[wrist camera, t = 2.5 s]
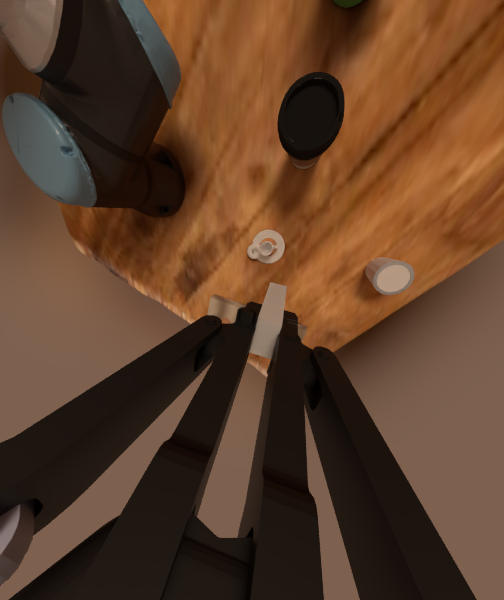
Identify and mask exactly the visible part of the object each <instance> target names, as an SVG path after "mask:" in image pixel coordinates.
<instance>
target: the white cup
mask: <svg viewBox="0 0 504 600" xmlns="http://www.w3.org/2000/svg"><path fill="white" fill-rule="evenodd" d="M365 275H366V276H367V278H368V279H369V281H370V282H371V283H372V285H373V286H374V287H375V289H376V290H377V291H378V292H380V293H382V294H386V295H393V294H398V293H400V292H402V291H404V290H406V289H407V288H408V287H409V286H410V285H411V283H412V281H413V279H414V270H413V268H412V267H411V265H409V264H407V263H406V262H403V261H398V260H394V259H390V258H385V257H379V258H375V259H373V260H372V261H370V262H369V263H368V265H367V266H366V269H365Z"/></svg>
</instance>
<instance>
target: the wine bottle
mask: <svg viewBox="0 0 504 600" xmlns="http://www.w3.org/2000/svg"><path fill="white" fill-rule="evenodd" d="M333 1H334V2H335V3H336V4H337V5H339V6H340V7H345V8H348V7H353V6H355V5H357V4H358V3H360V2H361V1H362V0H333Z"/></svg>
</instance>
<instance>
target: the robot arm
mask: <svg viewBox="0 0 504 600" xmlns="http://www.w3.org/2000/svg"><path fill="white" fill-rule="evenodd" d="M0 32H1V34H2V35H3V36H4V37H5V39H6V40H7V42H8V43H9V45H10V46H11V48H12V49H13V51H14V52H15V53H16V55H17V57H18V58H19V60H20V61H21V63H22V64H23V65H24V66H25V67H26V68H27V69H29V70H30V71H31V72H33V73H34V74H36V75H37V76H39V77H40V78H42V85H41V90H40V94H39V98H37V97H35V96H33V95H30V94H26V93H24V94H22V93H14V94H13V95H9V96H8V97H7V98H6V99H5V101H4V104H3V110H2V117H3V124H4V129H5V133H6V136H7V139H8V142H9V144H10V146H11V148H12V151H13V153H14V154H15V156H16V158H17V160H18V162H19V164H20V165H21V167H22V168H23V170H24V171H25V173H26V174H27V175H28V176H29V178H30V179H31V180H32V181H33V182H34V183H35V185H36V186H37V187H39V188H40V189H41V190H42V191H43V192H44V193H45V194H47V195H48V196H50V197H51V198H53V199H55V200H57V201H59V202H62V203H65V204H71V205H80V206H83V207H106V208H133V209H135V210H137V211H139V212H142V213H144V214H146V215H148V216H151V217H168V216H171V215H172V214H174V213H175V212H176V211H177V210H178V209H179V207H180V206H181V204H182V201H183V198H184V191H185V185H184V178H183V174H182V171H181V168H180V166H179V164H178V162H177V160H176V159H175V157H174V156H173V155H172V154H171V153H170V152H169V151H168V150H167V149H166V148H164V147H163V146H161V145H159V144H157V143H155V142H153V140H154V138H155V135H156V133H157V131H158V129H159V127H160V125H161V123H162V121H163V119H164V117H165V115H166V113H167V111H168V109H171V107H172V101H173V98H174V96H175V94H176V91H177V89H178V87H179V84H180V81H181V72H180V66H179V63H178V61H177V58H176V56H175V54H174V52H173V50H172V48H171V46H170V45H169V43H168V41H167V39H166V38H165V36H164V34H163V33H162V31H161V29H160V28H159V26H158V24H157V23H156V21H155V19H154V18H153V16H152V15H151V13H150V11H149V10H148V8H147V7H146V5H145V4H144V2H143V0H0ZM286 287H287V286H283V285H279V284H275V283H272V282H271V283H270V285H269V288H268V291H267V294H266V297H265V299H264V302H263V305H262V304H258V303H255V302H249V303H247V305H246V307H242V308H239V309H238V310H237V315H236V320H235V323H231V324H226V323H222V320H221V319H220V318H219V317H217V316H214V315H206V316H203V317H201V318H200V319H198V320H197V321H195V322H194V323H192V324H190V325H189V326H187V327H186V328H184V329H183V330H181V331H179V332H178V333H176V334H175V335H173V336H172V337H170V338H169V339H167V340H165V341H164V342H163V343H161V344H159V345H158V346H156V347H154V348H153V349H151V350H150V351H149V352H147V353H145V354H143V355H142V356H140V357H139V358H137V359H136V360H134V361H132V362H131V363H129V364H128V365H126V366H125V367H123V368H121V369H120V370H118V371H117V372H115V373H114V374H112V375H111V376H109V377H108V378H106V379H104V380H103V381H101V382H100V383H98V384H96V385H95V386H93V387H92V388H90V389H89V390H87V391H85V392H84V393H82V394H81V395H79V396H78V397H76V398H74V399H73V400H72V401H70V402H68V403H67V404H65V405H64V406H62V407H60V408H59V409H57V410H56V411H54V412H53V413H51V414H50V415H48V416H46V417H45V418H43V419H42V420H40V421H39V422H37V423H35V424H34V425H32V426H31V427H29V428H27V429H26V430H24V431H23V432H21V433H20V434H18V435H17V436H15V437H13V438H11V439H8V440H6V441H4V442H2V443H0V586H1V585H2V584H3V583H4V582H5V581H6V580H8V579H9V578H10V577H11V576H12V574H13V573H14V572H15V571H16V570H17V569H18V567H19V565H20V563H21V562H22V560H23V558H24V555H25V554H26V552H27V551H28V548H29V546H30V544H31V541H32V539H33V535H35V534H36V533H37V532H38V531H40V530H41V529H42V528H44V527H45V526H46V525H48V524H49V523H50V522H51V521H52V520H54V519H55V518H56V517H57V516H58V515H59V514H60V513H62V512H63V511H64V510H65V509H67V508H68V507H69V506H70V505H71V504H72V503H73V502H74V501H75V500H76V499H77V498H78V497H79V496H80V495H81V494H83V493H84V492H85V491H86V490H87V489H88V488H89V487H90V486H91V485H92V484H93V483H94V481H96V480H97V479H98V478H99V477H100V476H101V474H103V473H104V471H105V470H107V469H108V467H109V466H110V465H111V464H112V463H113V462H114V461H115V460H116V459H117V458H118V457H119V456H120V455H121V454H122V453H123V452H124V451H125V450H126V449H127V448H128V447H129V446H130V445H131V444H132V443H133V442H134V441H135V440H136V439H137V438H138V437H139V436H140V435H141V434H142V433H143V432H144V430H146V429H147V428H148V426H150V425H151V423H153V421H155V419H156V418H157V417H158V416H159V415H160V414H161V413H162V412H163V411H164V410H165V409H166V408H167V407H168V406H169V405H170V404H171V403H172V402H173V401H174V400H175V399H176V398H177V397H178V396H179V395H180V394H181V393H182V392H183V391H184V390H185V389H186V388H187V387H188V386H189V385H190V384H191V383H192V382H193V380H195V379H196V378H197V377H198V376H199V374H200V373H202V371H203V370H204V369H205V368H206V367H207V366H208V365H209V364H210V363H211V362H212V361H213V360H214V361H213V362H212V364H211V366H210V368H209V370H208V371H207V373H206V375H205V377H204V379H203V381H202V383H201V384H200V386H199V388H198V390H197V391H196V393H195V395H194V397H193V399H192V400H191V402H190V404H189V406H188V408H187V410H186V411H185V413H184V415H183V417H182V419H181V420H180V422H179V424H178V426H177V428H176V430H175V431H174V433H173V435H172V437H171V438H170V439H169V440H167V441H165V442H164V443H163V444H162V445H161V446H160V448H159V450H158V451H157V453H156V454H155V456H154V458H153V459H152V461H151V463H150V464H149V466H148V468H147V470H146V471H145V473H144V475H143V477H142V478H141V480H140V482H139V483H138V485H137V487H136V489H135V490H134V492H133V494H132V496H131V497H130V499H129V501H128V503H127V504H126V506H125V508H124V509H123V511H122V513H121V515H119V516H117V517H116V518H114V519H112V520H111V521H109V522H108V523H106V524H105V525H103V526H102V527H101V528H99V529H98V530H97V531H96V532H94V533H93V534H92V535H91V536H89V537H88V538H87V539H85V540H84V541H83V542H82V543H80V544H79V545H78V546H76V547H75V548H74V549H73V550H71V551H70V552H69V553H68V554H66V555H65V556H64V557H62V558H61V559H60V560H59V561H57V562H56V563H55V564H53V565H52V566H51V567H50V568H48V569H47V570H46V571H45V572H43V573H42V574H41V575H40V576H38V577H37V578H36V579H35V580H33V581H32V582H31V583H29V584H28V585H27V586H25V587H24V588H23V589H22V590H20V591H19V592H18V593H16V594H15V595H14V596H13V597H11V598H10V599H9V600H324V595H323V582H322V568H321V555H320V541H319V527H318V516H317V508H316V504H315V500H314V497H313V496H312V495H311V493H310V492H309V488H308V480H307V457H306V434H305V412H304V405H305V408H306V412H307V415H308V418H309V422H310V426H311V429H312V433H313V436H314V440H315V443H316V446H317V450H318V454H319V457H320V460H321V464H322V468H323V471H324V475H325V478H326V482H327V486H328V489H329V493H330V496H331V499H332V503H333V507H334V510H335V514H336V517H337V521H338V524H339V528H340V531H341V535H342V538H343V542H344V545H345V548H346V552H347V556H348V559H349V562H350V566H351V570H352V573H353V577H354V580H355V584H356V587H357V591H358V594H359V598H360V600H477V599H476V598H475V596H474V594H473V593H472V591H471V589H470V587H469V586H468V584H467V582H466V581H465V579H464V577H463V575H462V574H461V572H460V570H459V568H458V567H457V565H456V563H455V562H454V560H453V558H452V556H451V555H450V553H449V551H448V549H447V548H446V546H445V544H444V542H443V541H442V539H441V537H440V536H439V534H438V532H437V530H436V529H435V527H434V525H433V523H432V522H431V520H430V518H429V517H428V515H427V513H426V511H425V510H424V508H423V506H422V504H421V503H420V501H419V499H418V498H417V496H416V494H415V492H414V491H413V489H412V487H411V485H410V484H409V482H408V480H407V479H406V477H405V475H404V473H403V472H402V470H401V468H400V467H399V465H398V463H397V461H396V460H395V458H394V456H393V454H392V453H391V451H390V449H389V447H388V446H387V444H386V442H385V441H384V439H383V437H382V435H381V434H380V432H379V430H378V428H377V427H376V425H375V423H374V422H373V420H372V418H371V416H370V415H369V413H368V411H367V409H366V408H365V406H364V404H363V403H362V401H361V399H360V397H359V396H358V394H357V392H356V390H355V389H354V387H353V386H352V384H351V382H350V380H349V378H348V377H347V375H346V373H345V371H344V370H343V368H342V366H341V365H340V363H339V361H338V359H337V358H336V356H335V355H334V353H333V352H331V351H330V350H329V349H327V348H324V347H315V348H314V349H313V350H312V349H310V348H308V347H307V346H305V345H304V344H302V343H301V338H300V337H299V335H298V317H297V316H296V314H295V313H292V312H288V311H285V310H284V305H285V296H286ZM249 352H250V353H253V354H256V355H260V356H263V357H266V358H269V359H271V357H272V359H271V362H270V365H269V367H268V370H267V373H268V376H267V382H266V388H265V393H264V400H263V405H262V411H261V417H260V422H259V428H258V434H257V440H256V445H255V451H254V457H253V463H252V468H251V475H250V481H249V486H248V491H247V498H246V503H245V508H244V512H243V516H242V519H241V523H240V528H239V533H238V538H219V537H217V536H216V535H215V534H213V532H212V531H210V530H209V529H208V528H207V527H206V526H205V525H204V524H203V523H202V522H201V521H200V520H199V519H198V518H197V515H198V511H199V508H200V505H201V502H202V498H203V495H204V491H205V488H206V485H207V482H208V478H209V475H210V472H211V469H212V466H213V463H214V460H215V457H216V454H217V451H218V448H219V445H220V441H221V438H222V435H223V432H224V429H225V426H226V423H227V420H228V417H229V414H230V411H231V407H232V405H233V402H234V399H235V395H236V392H237V389H238V386H239V383H240V380H241V377H242V374H243V371H244V368H245V365H246V362H247V358H248V355H249Z"/></svg>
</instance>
